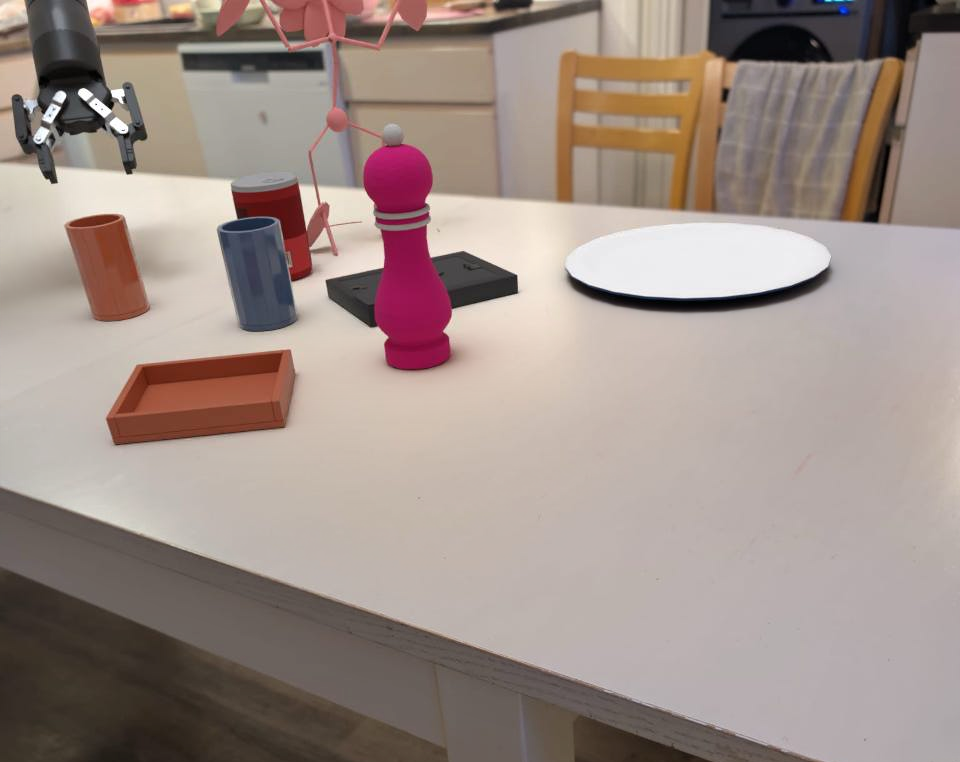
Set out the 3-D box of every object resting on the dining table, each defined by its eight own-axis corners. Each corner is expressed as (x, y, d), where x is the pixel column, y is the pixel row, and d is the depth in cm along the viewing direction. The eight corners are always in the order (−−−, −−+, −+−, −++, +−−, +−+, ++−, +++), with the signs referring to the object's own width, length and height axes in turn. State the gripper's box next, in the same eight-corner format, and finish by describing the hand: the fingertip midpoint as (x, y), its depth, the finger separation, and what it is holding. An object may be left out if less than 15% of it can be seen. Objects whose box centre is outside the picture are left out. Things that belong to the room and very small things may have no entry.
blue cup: (235, 334, 100) (212, 235, 94) (242, 314, 105) (221, 220, 99) (295, 327, 100) (276, 228, 94) (299, 309, 105) (281, 214, 99)
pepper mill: (381, 348, 93) (350, 121, 81) (454, 341, 93) (433, 113, 81) (380, 375, 87) (346, 134, 75) (457, 367, 87) (436, 126, 75)
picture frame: (370, 327, 98) (518, 292, 104) (367, 305, 97) (517, 271, 103) (327, 296, 108) (464, 266, 114) (324, 276, 107) (463, 247, 112)
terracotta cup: (87, 323, 106) (57, 230, 100) (100, 306, 112) (72, 216, 106) (143, 318, 107) (116, 224, 101) (154, 300, 112) (129, 211, 106)
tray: (114, 444, 79) (105, 418, 77) (143, 389, 89) (136, 364, 87) (285, 427, 79) (279, 400, 78) (295, 373, 89) (290, 348, 88)
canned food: (326, 269, 117) (310, 173, 111) (281, 287, 112) (262, 188, 106) (282, 263, 121) (264, 170, 115) (237, 280, 116) (216, 184, 110)
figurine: (457, 231, 128) (431, -93, 107) (279, 269, 119) (212, -76, 98) (408, 212, 139) (376, -85, 118) (242, 245, 130) (175, -69, 109)
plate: (867, 300, 94) (870, 283, 93) (576, 322, 95) (576, 305, 94) (788, 227, 117) (790, 213, 116) (555, 245, 118) (555, 231, 117)
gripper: (-9, 33, 106) (15, 161, 104) (120, 20, 108) (146, 145, 106) (14, 82, 113) (37, 203, 111) (134, 69, 116) (159, 187, 114)
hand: (90, 174), depth 109 cm, fingers open, 8 cm apart
